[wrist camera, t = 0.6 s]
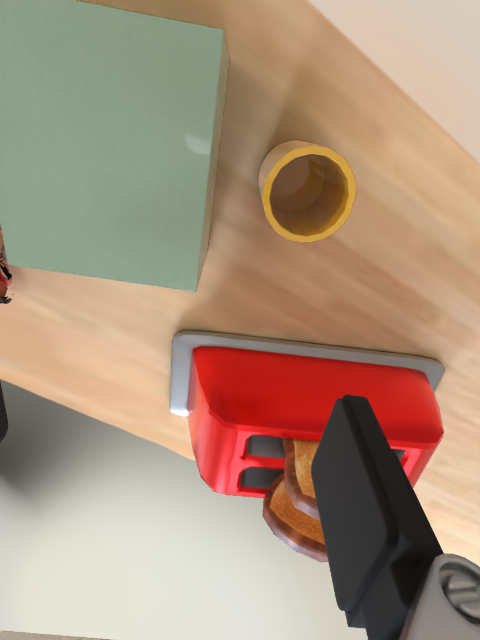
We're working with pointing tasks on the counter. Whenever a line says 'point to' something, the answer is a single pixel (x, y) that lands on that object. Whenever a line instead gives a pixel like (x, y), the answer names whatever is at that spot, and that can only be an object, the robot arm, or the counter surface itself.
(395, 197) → the counter surface
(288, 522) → the toaster
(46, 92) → the shelf
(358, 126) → the counter surface
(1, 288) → the dragon fruit
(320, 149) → the cup
